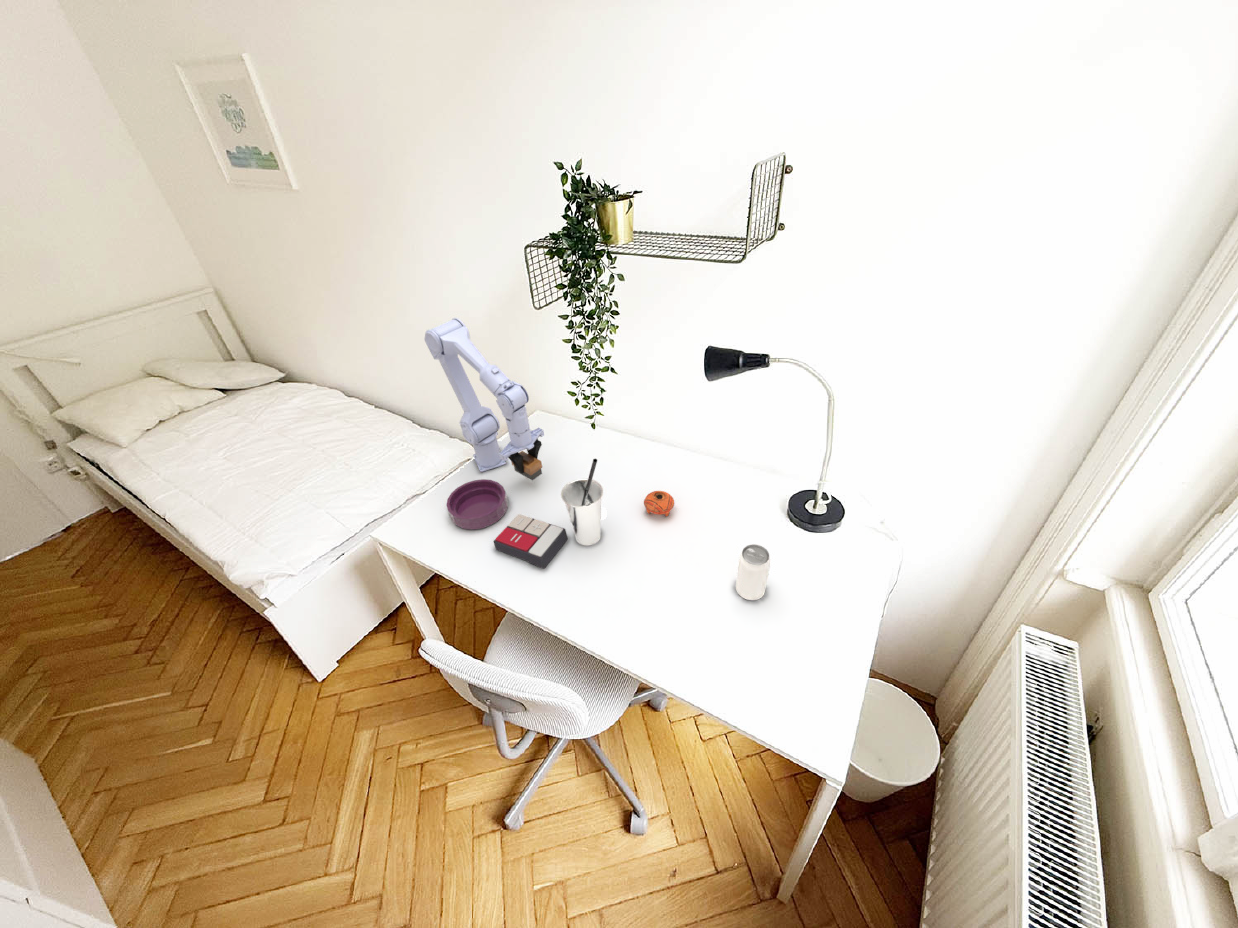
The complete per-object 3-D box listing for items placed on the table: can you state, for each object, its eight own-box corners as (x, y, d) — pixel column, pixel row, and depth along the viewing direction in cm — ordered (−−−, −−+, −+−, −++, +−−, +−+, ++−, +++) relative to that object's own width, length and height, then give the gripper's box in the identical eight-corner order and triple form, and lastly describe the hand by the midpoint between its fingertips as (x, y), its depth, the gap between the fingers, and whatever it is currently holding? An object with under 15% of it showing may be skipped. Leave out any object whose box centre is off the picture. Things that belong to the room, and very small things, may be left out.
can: (744, 573, 123) (749, 538, 115) (769, 587, 119) (776, 551, 112) (730, 592, 119) (734, 556, 111) (756, 606, 116) (762, 570, 108)
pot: (645, 498, 144) (650, 480, 140) (672, 507, 144) (678, 489, 139) (638, 518, 138) (643, 499, 134) (666, 527, 137) (673, 509, 133)
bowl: (446, 502, 148) (441, 490, 145) (499, 484, 153) (496, 472, 150) (457, 538, 137) (452, 526, 134) (515, 518, 142) (511, 506, 139)
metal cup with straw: (607, 556, 129) (596, 461, 111) (563, 551, 131) (545, 457, 113) (615, 524, 138) (607, 431, 119) (574, 520, 140) (559, 428, 121)
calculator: (518, 511, 138) (565, 526, 132) (521, 523, 141) (568, 538, 134) (491, 539, 131) (540, 556, 125) (495, 551, 134) (544, 569, 127)
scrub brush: (513, 470, 151) (509, 455, 147) (524, 463, 153) (521, 447, 150) (532, 481, 147) (528, 466, 143) (543, 473, 149) (540, 458, 146)
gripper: (507, 446, 134) (517, 486, 143) (548, 420, 142) (555, 459, 151) (490, 437, 138) (500, 476, 146) (531, 411, 146) (538, 450, 155)
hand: (527, 467), depth 149 cm, fingers closed on scrub brush, 4 cm apart
